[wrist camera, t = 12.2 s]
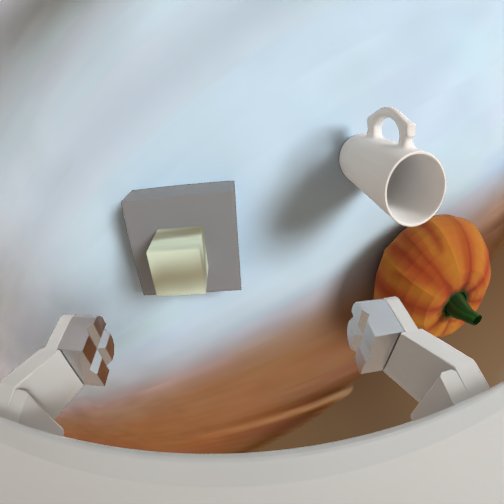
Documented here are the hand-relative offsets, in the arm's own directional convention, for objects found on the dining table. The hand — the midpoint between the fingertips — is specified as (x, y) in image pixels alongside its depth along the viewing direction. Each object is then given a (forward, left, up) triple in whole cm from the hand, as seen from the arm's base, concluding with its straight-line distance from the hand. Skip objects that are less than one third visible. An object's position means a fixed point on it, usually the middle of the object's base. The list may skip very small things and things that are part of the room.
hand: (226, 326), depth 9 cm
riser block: (+9, -5, -26) cm, 28 cm away
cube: (+9, -5, -22) cm, 24 cm away
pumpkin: (+16, +28, -26) cm, 41 cm away
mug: (-1, +16, -26) cm, 30 cm away
